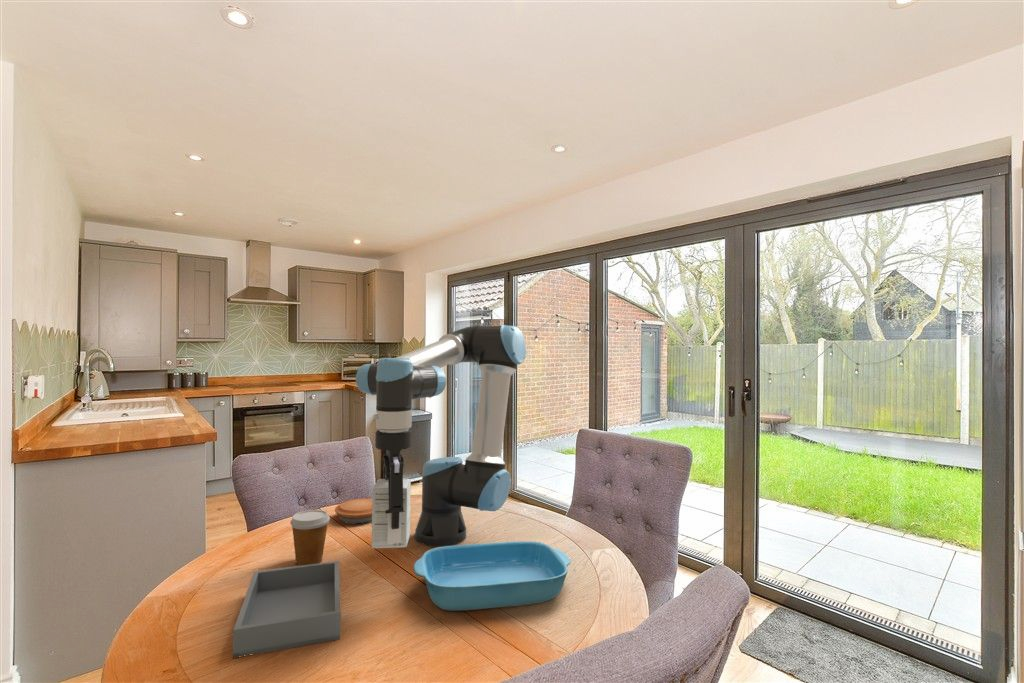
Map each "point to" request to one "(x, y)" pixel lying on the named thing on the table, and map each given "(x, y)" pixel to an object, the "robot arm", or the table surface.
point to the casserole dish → (492, 574)
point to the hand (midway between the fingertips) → (391, 534)
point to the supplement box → (381, 518)
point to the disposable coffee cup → (309, 535)
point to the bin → (289, 609)
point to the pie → (355, 511)
